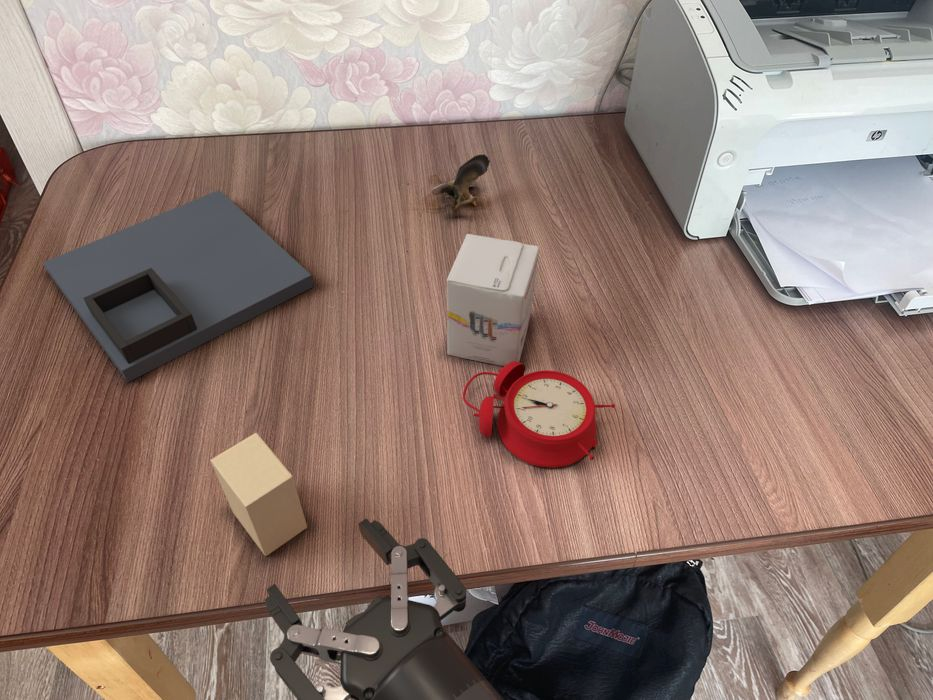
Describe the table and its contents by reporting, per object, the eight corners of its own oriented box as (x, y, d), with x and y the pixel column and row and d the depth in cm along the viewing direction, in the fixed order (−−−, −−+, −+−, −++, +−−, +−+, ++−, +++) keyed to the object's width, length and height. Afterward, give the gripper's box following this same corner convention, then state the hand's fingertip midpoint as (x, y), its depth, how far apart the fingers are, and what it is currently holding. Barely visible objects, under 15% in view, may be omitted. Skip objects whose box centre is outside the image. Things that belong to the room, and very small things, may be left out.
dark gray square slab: (127, 382, 77) (113, 355, 74) (49, 274, 89) (33, 246, 85) (313, 286, 88) (308, 259, 85) (222, 201, 100) (215, 174, 96)
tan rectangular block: (265, 557, 64) (245, 507, 58) (232, 512, 67) (209, 459, 61) (307, 527, 66) (292, 476, 60) (273, 485, 69) (256, 431, 63)
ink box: (463, 305, 87) (466, 228, 78) (531, 319, 86) (542, 243, 77) (444, 355, 81) (444, 279, 73) (516, 371, 80) (526, 295, 71)
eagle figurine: (492, 217, 97) (501, 170, 102) (464, 182, 92) (475, 135, 97) (447, 231, 101) (458, 186, 106) (418, 199, 96) (430, 153, 101)
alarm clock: (594, 468, 67) (455, 394, 69) (571, 496, 72) (442, 426, 74) (624, 391, 74) (497, 325, 75) (601, 421, 79) (482, 358, 80)
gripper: (529, 635, 49) (387, 481, 57) (361, 793, 42) (227, 594, 50) (520, 671, 55) (392, 526, 62) (370, 815, 48) (248, 633, 56)
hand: (318, 556), depth 56 cm, fingers open, 8 cm apart
